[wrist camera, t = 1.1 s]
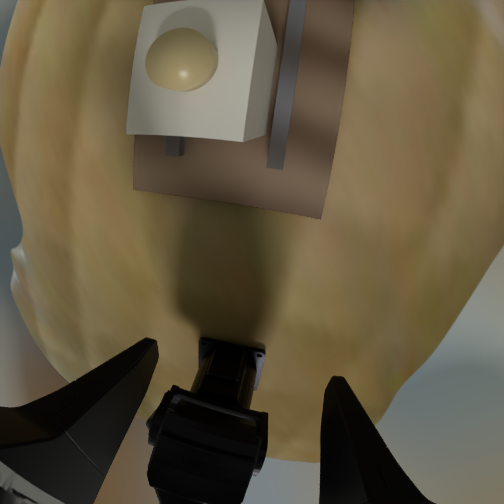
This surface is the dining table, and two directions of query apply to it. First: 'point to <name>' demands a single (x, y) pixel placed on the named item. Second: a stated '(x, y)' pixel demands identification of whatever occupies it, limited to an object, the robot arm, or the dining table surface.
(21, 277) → the dining table surface
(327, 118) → the brown board with frame
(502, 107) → the dining table surface
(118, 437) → the robot arm
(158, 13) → the white block with knob
